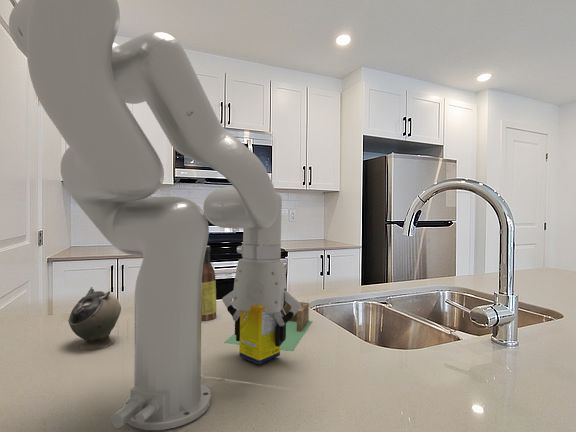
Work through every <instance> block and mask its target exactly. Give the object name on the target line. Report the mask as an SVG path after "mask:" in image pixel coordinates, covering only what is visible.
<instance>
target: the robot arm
mask: <svg viewBox="0 0 576 432" xmlns="http://www.w3.org/2000/svg"><path fill="white" fill-rule="evenodd" d="M120 22H121V12H120V6H119V2H118V0H19V1H18V2H17V3H16V4H15V6H14V7H13V8H12V10H11V12H10V14H9V18H8V29H9V33H10V36H11V39H12V41H13V42H14V44H15V46H16V47H17V49H18V50H19V51H20V52H21V53H22V54H23V55H24V56H25V57H26V58H27V68H28V72H29V76H30V81H31V85H32V87H33V90H34V92H35V94H36V97H37V99H38V102H39V103H40V105H41V107H42V108H43V110H44V112H45V113H46V114H47V116H48V118H49V119H50V121H51V122H52V123H53V125H54V126H55V127H56V129H57V131H58V132H59V134H60V135H61V137H62V138H63V139H64V141H65V142H66V144H67V146H68V148H67V149H66V150H65V151H64V153H63V155H62V157H61V160H60V175H61V179H62V183H63V185H64V187H65V189H66V191H67V192H68V193H69V195H70V197H72V199H73V200H74V202H75V203H76V204H77V205H78V206H79V208H80V209H81V210H82V211H83V212H84V214H85V216H86V217H88V219H89V220H90V221H91V223H92V224H93V225H94V226H95V227H96V228H97V230H98V231H99V232H100V233H101V234H102V235H103V237H104V238H105V239H106V240H107V241H108V242H109V243H110V244H111V245H112V246H113V247H114V248H116V249H117V250H118V251H120V252H122V253H124V254H127V255H131V256H135V257H140V258H141V257H142V258H143V259H142V262H141V265H140V268H139V271H138V274H137V277H136V281H135V286H134V287H135V288H134V370H133V371H134V373H133V375H134V380H133V381H134V386H133V387H132V388H130V394H129V396H128V397H127V398H126V399H125V401H124V402H123V405H122V407H120V408H119V409H118V410H116V411H115V412H114V413H113V414H111V416H110V422H111V425H112V426H113V427H114V428H116V429H120V428H122V427H123V426H124V425H126V424H128V425H129V426H131V427H133V428H135V429H140V430H145V431H163V430H165V431H166V430H169V429H170V430H171V429H174V428H178V427H181V426H185V425H187V424H189V423H191V422H193V421H195V420H196V419H198V418H200V417H201V416H202V415H204V414H205V412H206V411H207V410H208V409H209V408H210V405H211V402H212V392H211V390H210V387H209V386H207V384H205V383H204V382H202V321H201V308H202V302H201V292H202V270H203V262H204V256H205V251H206V247H207V246H208V241H209V235H210V234H209V232H210V231H209V230H210V229H209V228H210V227H209V223H211V224H212V225H214V226H216V227H218V228H222V229H236V230H237V229H238V230H239V229H241V230H243V235H242V244H241V245H238V246H237V247H236V252H237V253H239V254H241V258H239V259H238V260H237V261H238V262H237V265H236V268H235V269H236V270H235V276H234V283H233V290H232V291H230V292H228V293H227V294H225V295H224V296H223V297H222V298H221V301H222V302H223V305H224V306H225V307H226V309H227V312H228V313H229V314H230V315H231V317H232V320H233V321H234V334H235V335H236V341H240V311H246V312H248V311H250V310H251V305H260V306H264V307H265V313H266V314H274V316H275V318H276V320H277V322H278V325H277V326H276V331H275V346H277V347H279V346H280V345H281V344H282V343H283V341H285V339H286V323H287V322H288V321H289V320H290V319H291V318H292V317H293V316H294V315H295V314H296V313H297V311H298V310H299V309H300V308H301V304H300V303H299V302H300V301H298V300H297V299H296V298H295V297H294V296H292V294H290V293H289V292H288V285H287V275H286V274H287V273H286V268H285V267H286V266H285V263H284V260H283V259H281V258H282V257H281V255H282V253H281V250H282V249H281V248H282V210H283V208H282V206H283V205H282V204H283V203H282V202H283V200H282V196H281V194H280V193H279V192H277V191H276V189H275V186H274V184H273V182H272V180H271V177H270V175H269V173H268V170H267V169H266V167H265V165H264V164H263V162H262V161H261V160H260V158H259V157H258V156H257V155H256V154H255V153H254V152H253V151H252V150H251V149H249V148H248V147H247V146H246V145H245V144H244V143H243V142H242V141H241V140H240V139H238V138H237V137H236V136H234V135H233V134H232V133H231V132H229V131H228V130H227V129H225V127H223V125H222V124H221V123H220V120H219V118H218V116H217V115H216V112H215V111H214V108H213V105H211V101H210V100H209V98H208V96H207V94H206V92H205V90H204V88H203V86H202V83H201V81H200V79H199V78H198V75H197V74H196V71H195V69H194V67H193V65H192V62H191V61H190V59H189V56H188V55H187V53H186V51H185V49H184V48H183V46H182V44H181V43H180V42H179V41H178V40H177V39H176V38H175V37H174V36H173V35H171V34H169V33H167V32H163V31H153V32H152V31H151V32H148V33H143V34H139V35H138V36H136V37H133V38H131V39H130V40H128V41H125V42H124V43H122V44H118V43H117V42H115V39H116V37H117V34H118V32H119V29H120ZM144 102H145V103H146V104H147V105H148V107H149V109H150V110H151V112H152V114H153V116H154V117H155V119H156V121H157V123H158V124H159V126H160V128H161V129H162V132H163V133H164V134H165V137H166V138H167V140H168V141H169V143H170V146H171V147H172V148H173V149H174V150H175V151H176V152H177V153H179V154H180V155H182V156H184V157H186V158H188V159H191V160H193V161H195V162H197V163H200V164H201V165H204V166H206V167H209V168H211V169H213V170H214V171H216V172H217V173H219V174H220V175H222V176H223V177H224V178H225V179H226V180H227V181H228V182H229V183H230V184H231V185H232V186H233V187H232V186H229V187H227V186H226V187H220V188H216V189H214V190H213V191H211V192H210V193H208V194H207V196H206V197H205V199H204V202H203V209H202V208H201V207H200V206H199V205H198V204H197V203H195V202H193V201H192V200H190V199H189V198H188V199H187V198H184V197H181V196H153V195H154V194H156V193H157V192H158V191H159V189H160V188H161V186H162V185H163V182H164V180H165V179H164V178H165V171H164V166H163V162H162V161H161V158H160V156H159V155H158V153H157V150H156V149H155V148H154V146H153V145H152V142H151V141H150V140H149V138H148V136H147V135H146V134H145V132H144V130H143V128H142V127H141V125H140V124H139V123H138V121H137V119H136V118H135V116H134V115H133V113H132V111H131V110H130V108H129V106H128V105H127V104H130V105H135V104H140V103H141V104H142V103H144ZM151 196H152V197H151ZM287 303H288V304H289V305H290V306H291V310H290V311H289V312H288V313H287V314H286V313H285V311H284V309H283V308H285V307H286V305H287Z"/></svg>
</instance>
